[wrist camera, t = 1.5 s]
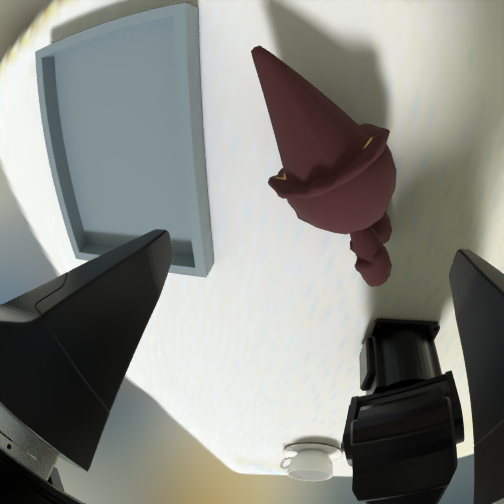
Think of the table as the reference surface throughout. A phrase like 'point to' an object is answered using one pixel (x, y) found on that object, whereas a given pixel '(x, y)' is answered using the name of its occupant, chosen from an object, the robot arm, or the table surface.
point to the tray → (129, 134)
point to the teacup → (310, 461)
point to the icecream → (330, 165)
